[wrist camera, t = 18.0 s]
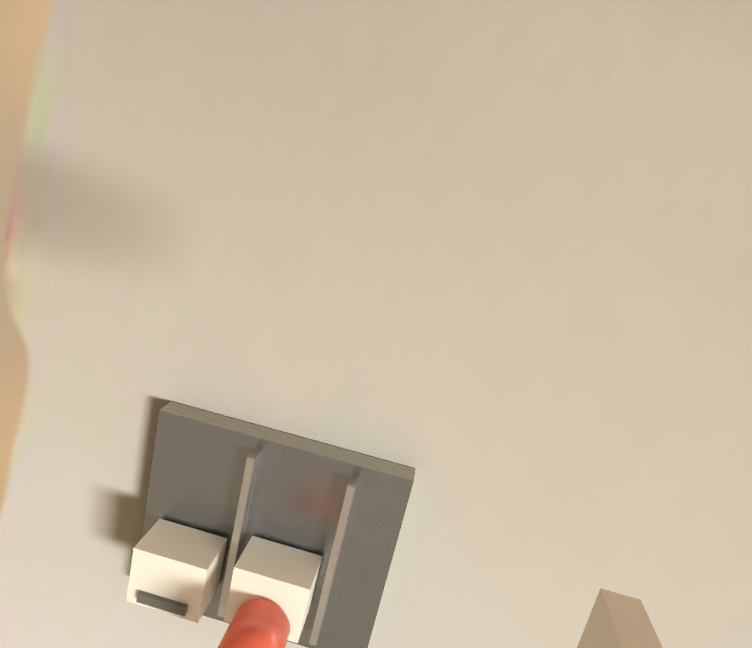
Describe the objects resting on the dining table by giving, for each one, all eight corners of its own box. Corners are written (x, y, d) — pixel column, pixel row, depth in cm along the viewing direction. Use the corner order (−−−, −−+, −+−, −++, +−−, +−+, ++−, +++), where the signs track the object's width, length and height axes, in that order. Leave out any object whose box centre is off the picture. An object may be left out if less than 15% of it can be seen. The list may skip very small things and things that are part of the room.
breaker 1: (159, 518, 47) (130, 551, 43) (227, 538, 46) (204, 573, 42) (152, 568, 48) (123, 604, 44) (218, 587, 48) (195, 626, 43)
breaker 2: (252, 535, 46) (231, 570, 42) (322, 556, 46) (308, 593, 41) (242, 585, 47) (221, 624, 43) (310, 606, 47) (296, 647, 43)
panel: (171, 401, 47) (148, 417, 43) (415, 468, 45) (412, 491, 42) (145, 578, 51) (123, 607, 48) (366, 645, 50) (359, 679, 46)
